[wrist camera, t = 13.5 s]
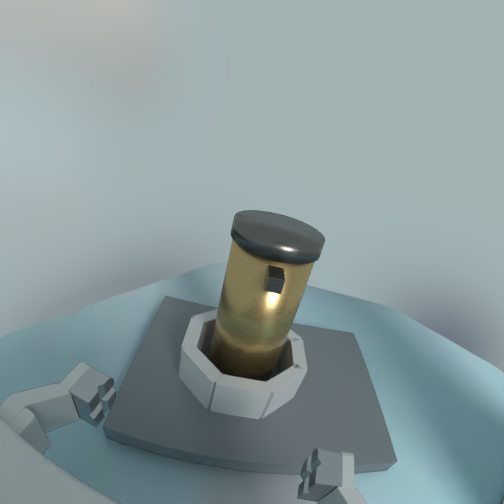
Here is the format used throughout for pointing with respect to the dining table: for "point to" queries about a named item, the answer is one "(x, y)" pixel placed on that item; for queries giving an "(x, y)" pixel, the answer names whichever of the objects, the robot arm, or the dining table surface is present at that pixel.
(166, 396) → the socket base
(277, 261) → the cylinder
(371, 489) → the dining table surface
